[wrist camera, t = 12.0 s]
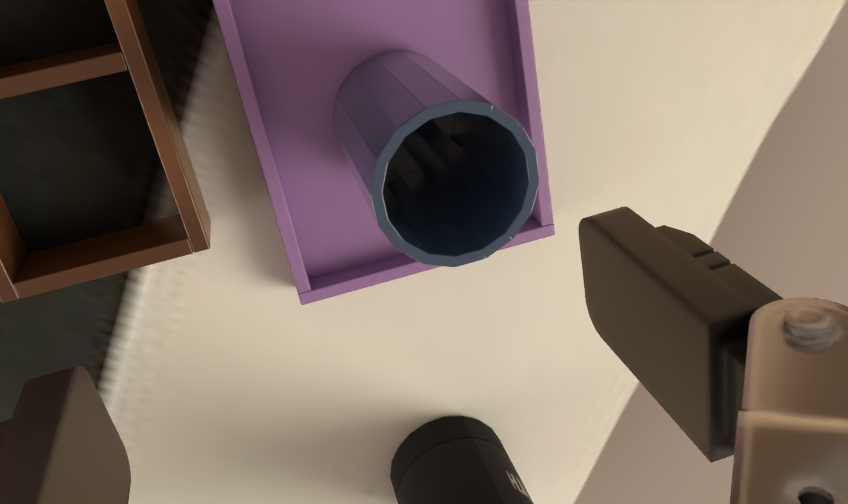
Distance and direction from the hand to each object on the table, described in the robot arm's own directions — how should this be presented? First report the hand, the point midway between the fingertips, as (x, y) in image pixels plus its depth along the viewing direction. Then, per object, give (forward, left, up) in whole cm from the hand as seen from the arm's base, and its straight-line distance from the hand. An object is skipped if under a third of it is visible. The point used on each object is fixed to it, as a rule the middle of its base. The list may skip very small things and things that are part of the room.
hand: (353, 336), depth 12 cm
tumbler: (+3, +5, -21) cm, 22 cm away
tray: (+3, +5, -22) cm, 23 cm away
